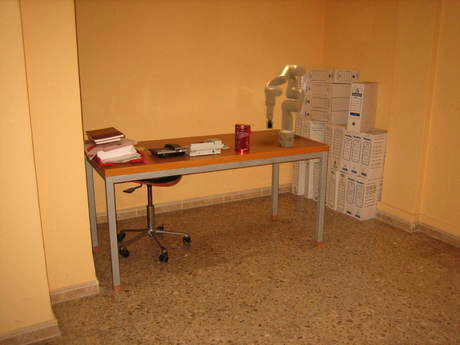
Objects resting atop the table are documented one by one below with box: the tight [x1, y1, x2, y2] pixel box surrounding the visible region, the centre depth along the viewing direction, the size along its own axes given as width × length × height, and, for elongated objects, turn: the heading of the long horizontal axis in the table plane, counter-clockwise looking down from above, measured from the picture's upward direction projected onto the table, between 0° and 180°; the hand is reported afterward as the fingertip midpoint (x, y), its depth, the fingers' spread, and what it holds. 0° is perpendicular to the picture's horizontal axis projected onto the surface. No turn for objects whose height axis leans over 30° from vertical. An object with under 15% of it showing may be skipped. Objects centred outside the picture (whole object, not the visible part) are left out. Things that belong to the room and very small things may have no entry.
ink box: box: [277, 130, 295, 149], centre depth 335 cm, size 9×9×12 cm
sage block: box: [265, 120, 274, 130], centre depth 339 cm, size 5×5×5 cm
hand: (269, 127), depth 339 cm, fingers closed on sage block, 5 cm apart
